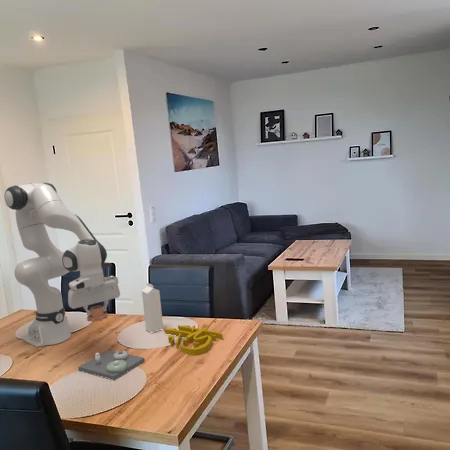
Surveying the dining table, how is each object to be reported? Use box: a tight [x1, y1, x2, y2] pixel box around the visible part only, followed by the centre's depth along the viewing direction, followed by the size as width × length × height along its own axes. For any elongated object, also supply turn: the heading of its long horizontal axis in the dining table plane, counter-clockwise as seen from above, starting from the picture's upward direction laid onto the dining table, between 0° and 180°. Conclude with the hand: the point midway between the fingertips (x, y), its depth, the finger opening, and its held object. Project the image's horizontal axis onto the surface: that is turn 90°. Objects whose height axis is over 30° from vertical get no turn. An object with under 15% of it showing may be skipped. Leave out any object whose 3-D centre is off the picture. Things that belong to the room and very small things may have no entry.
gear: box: [86, 305, 109, 323], centre depth 174 cm, size 8×8×5 cm
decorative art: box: [163, 324, 224, 356], centre depth 184 cm, size 21×3×30 cm
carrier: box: [77, 349, 146, 381], centre depth 165 cm, size 19×16×6 cm
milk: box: [141, 282, 164, 333], centre depth 198 cm, size 6×6×22 cm
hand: (97, 313), depth 174 cm, fingers closed on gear, 5 cm apart
